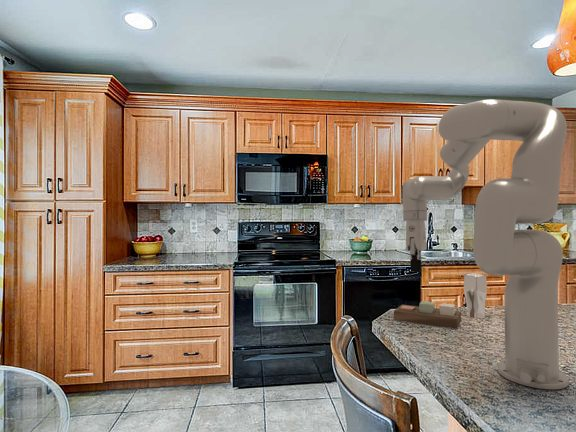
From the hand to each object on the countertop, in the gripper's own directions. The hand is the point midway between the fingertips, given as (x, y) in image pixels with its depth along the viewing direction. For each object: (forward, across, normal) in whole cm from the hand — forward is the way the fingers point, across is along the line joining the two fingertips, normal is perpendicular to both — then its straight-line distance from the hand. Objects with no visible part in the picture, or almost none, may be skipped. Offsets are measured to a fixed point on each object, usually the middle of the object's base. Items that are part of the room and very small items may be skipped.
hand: (416, 271), depth 118 cm
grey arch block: (+17, +14, -16) cm, 27 cm away
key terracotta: (+15, 0, +3) cm, 16 cm away
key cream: (+13, 0, -9) cm, 16 cm away
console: (+17, 0, -3) cm, 17 cm away
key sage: (+13, 0, -3) cm, 14 cm away
